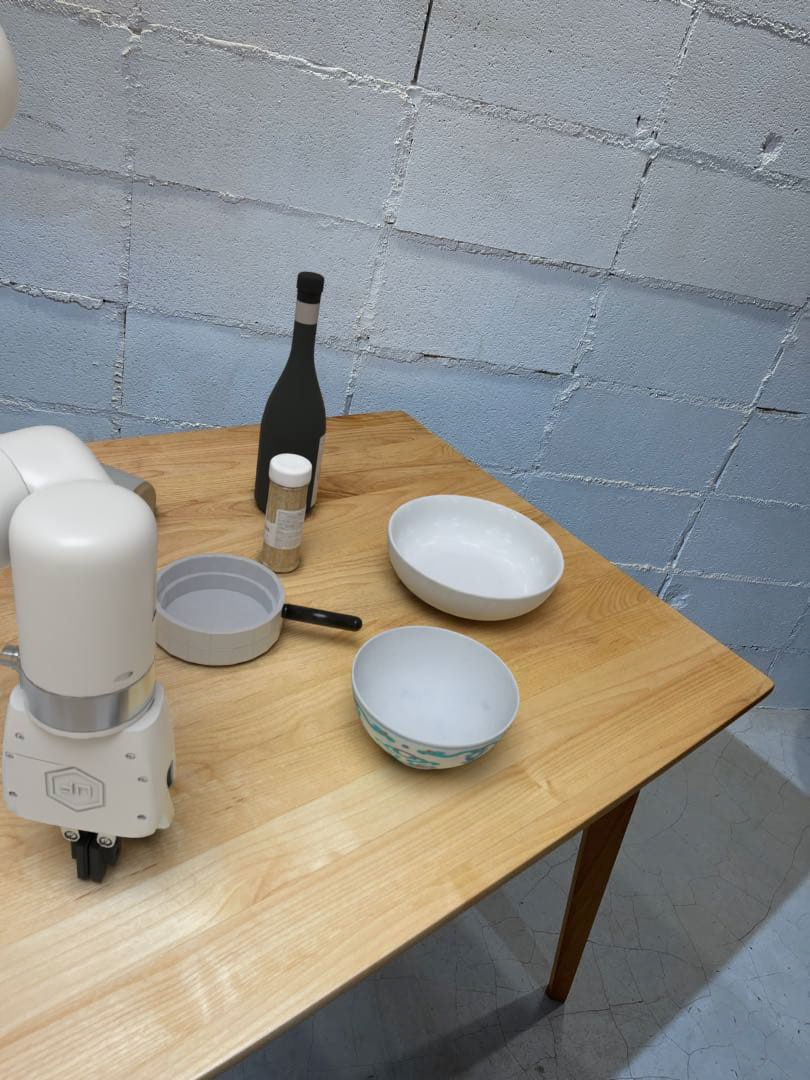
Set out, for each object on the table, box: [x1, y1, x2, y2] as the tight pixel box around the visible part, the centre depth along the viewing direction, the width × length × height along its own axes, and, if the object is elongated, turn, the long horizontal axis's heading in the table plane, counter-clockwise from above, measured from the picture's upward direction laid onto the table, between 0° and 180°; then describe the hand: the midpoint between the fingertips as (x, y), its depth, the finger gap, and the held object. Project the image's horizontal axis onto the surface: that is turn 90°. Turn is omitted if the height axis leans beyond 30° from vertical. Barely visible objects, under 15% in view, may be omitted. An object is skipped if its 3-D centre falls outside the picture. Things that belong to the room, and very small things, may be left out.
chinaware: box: [350, 625, 521, 770], centre depth 73 cm, size 15×15×8 cm
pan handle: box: [281, 602, 364, 633], centre depth 83 cm, size 9×2×2 cm, turn 86°
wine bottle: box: [253, 270, 327, 516], centre depth 98 cm, size 8×8×30 cm
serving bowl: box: [386, 494, 565, 622], centre depth 96 cm, size 21×21×7 cm
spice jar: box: [260, 454, 312, 573], centre depth 92 cm, size 5×5×13 cm
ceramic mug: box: [99, 461, 157, 515], centre depth 94 cm, size 11×8×8 cm
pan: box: [156, 552, 286, 667], centre depth 83 cm, size 13×13×4 cm
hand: (97, 862), depth 59 cm, fingers closed
